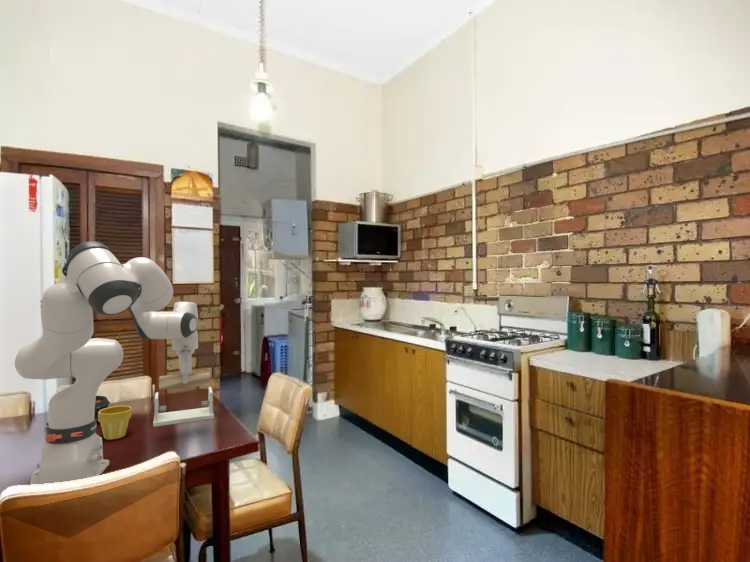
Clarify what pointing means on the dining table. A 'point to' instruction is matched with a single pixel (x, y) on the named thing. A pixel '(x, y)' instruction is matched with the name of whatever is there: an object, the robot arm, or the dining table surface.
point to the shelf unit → (184, 413)
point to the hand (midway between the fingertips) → (185, 381)
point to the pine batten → (177, 380)
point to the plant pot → (114, 421)
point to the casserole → (99, 405)
